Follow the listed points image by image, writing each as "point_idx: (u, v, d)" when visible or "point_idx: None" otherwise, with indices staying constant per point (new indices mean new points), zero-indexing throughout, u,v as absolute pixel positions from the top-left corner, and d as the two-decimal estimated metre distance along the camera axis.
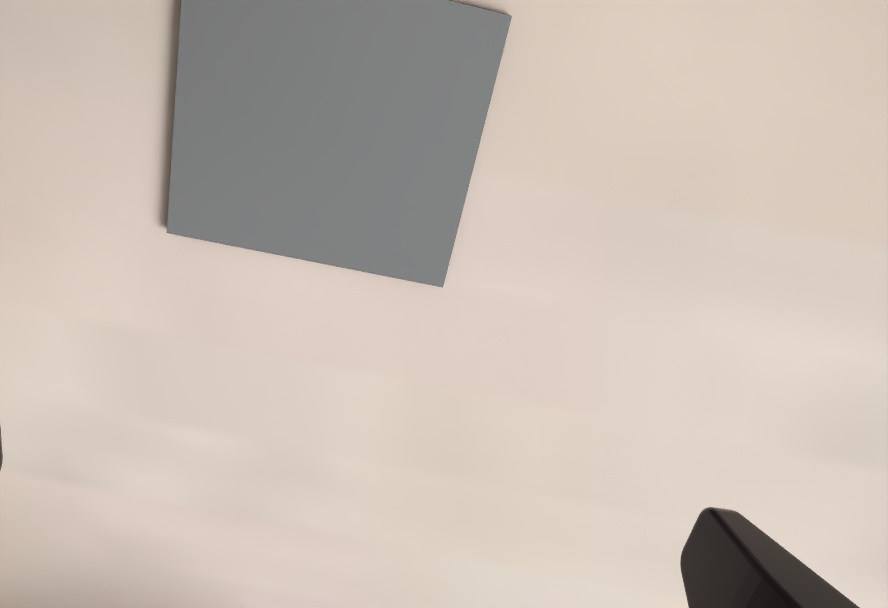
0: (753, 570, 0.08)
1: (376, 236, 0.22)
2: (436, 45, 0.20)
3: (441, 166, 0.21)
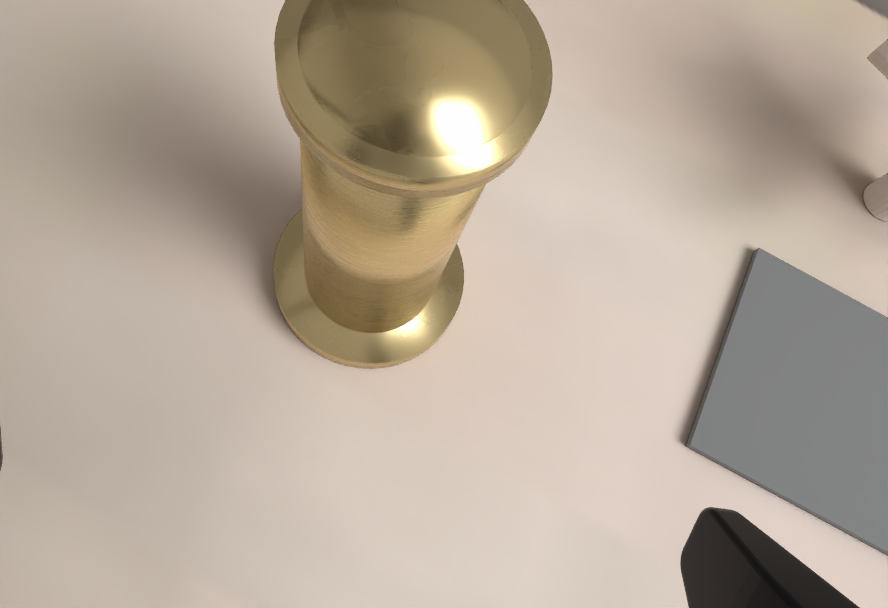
0: (753, 570, 0.08)
1: (863, 499, 0.24)
2: None
3: None
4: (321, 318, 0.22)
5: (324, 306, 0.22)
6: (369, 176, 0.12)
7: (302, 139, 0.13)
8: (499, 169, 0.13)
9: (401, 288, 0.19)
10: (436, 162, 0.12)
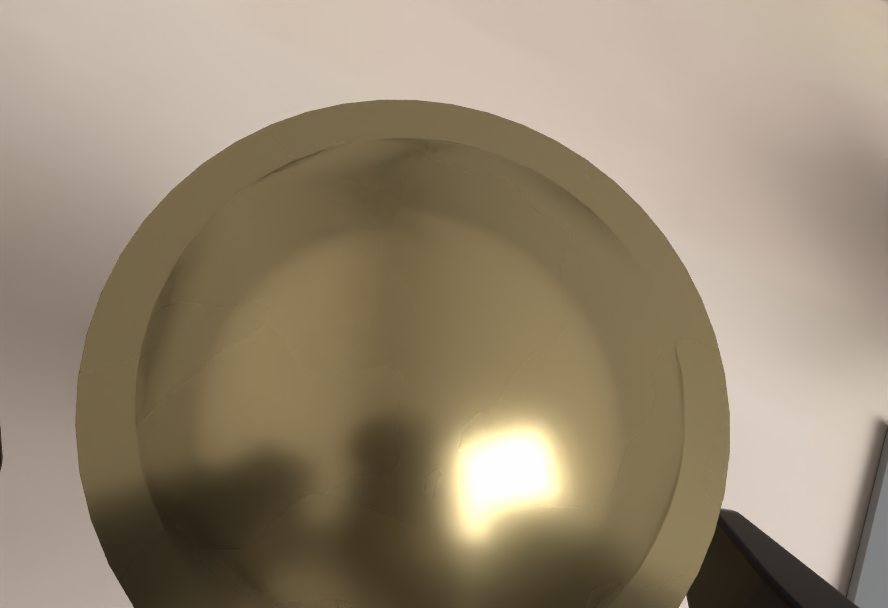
0: (753, 570, 0.08)
1: None
2: None
3: None
4: None
5: None
6: None
7: None
8: None
9: None
10: None
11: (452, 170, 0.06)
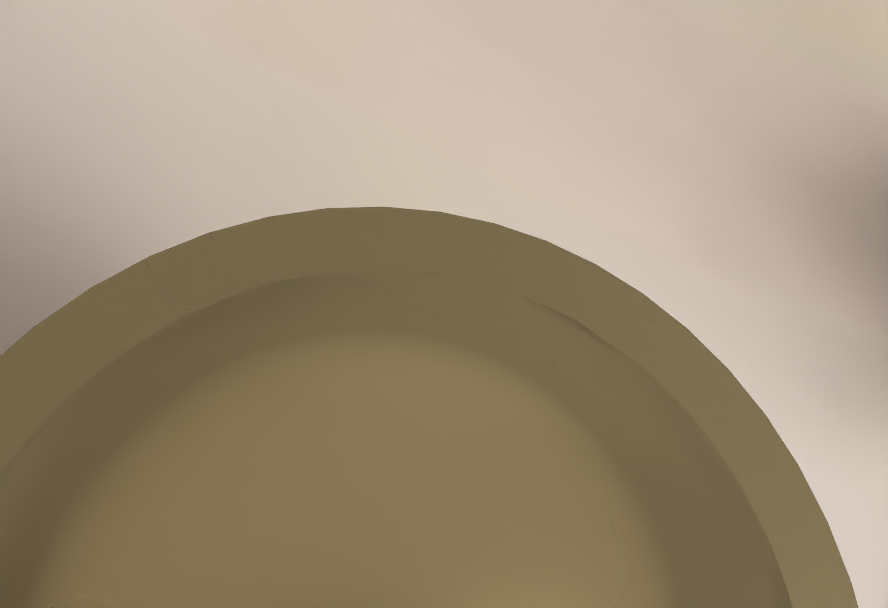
0: None
1: None
2: None
3: None
4: None
5: None
6: None
7: None
8: None
9: None
10: None
11: (439, 321, 0.04)
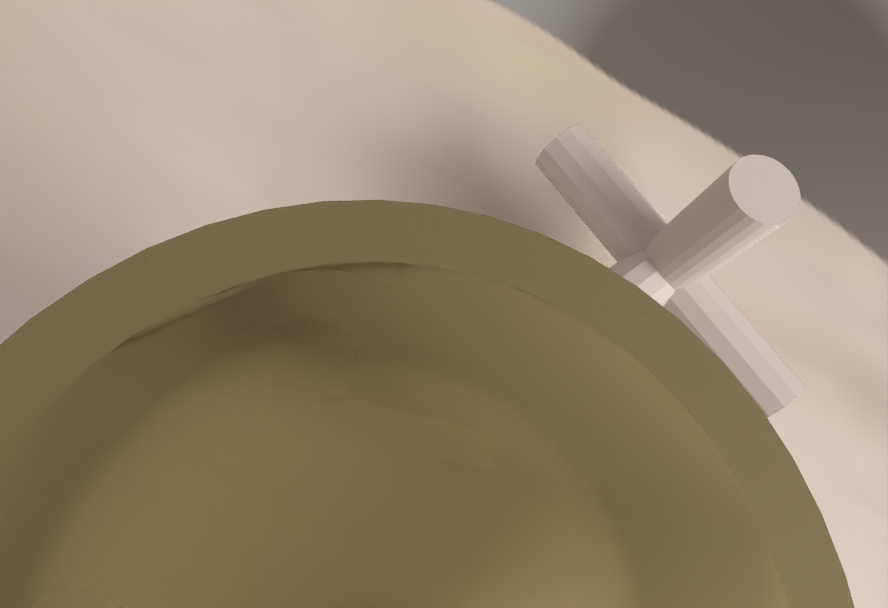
0: None
1: None
2: None
3: None
4: None
5: None
6: None
7: None
8: None
9: None
10: None
11: (434, 313, 0.04)
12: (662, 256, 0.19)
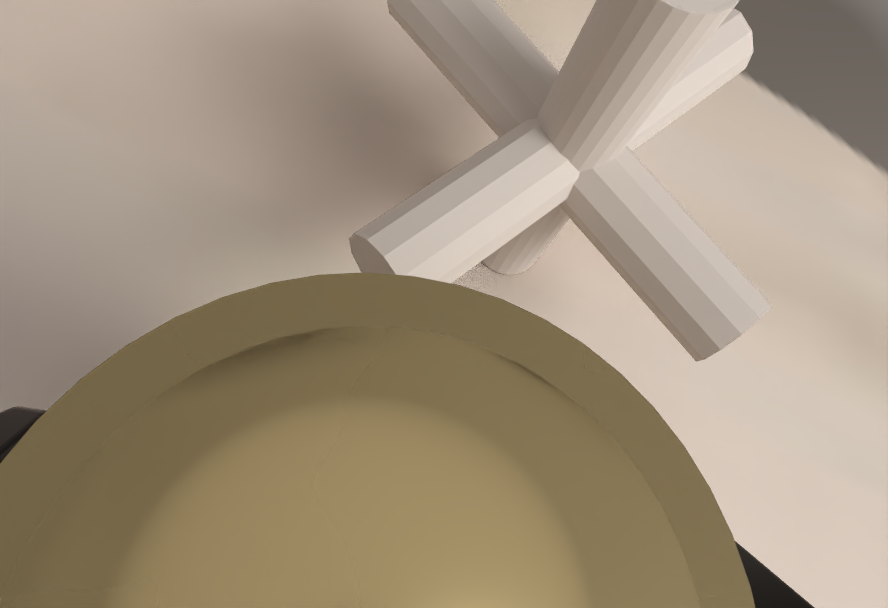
0: None
1: None
2: None
3: None
4: None
5: None
6: None
7: None
8: None
9: None
10: None
11: (411, 369, 0.05)
12: (554, 116, 0.13)
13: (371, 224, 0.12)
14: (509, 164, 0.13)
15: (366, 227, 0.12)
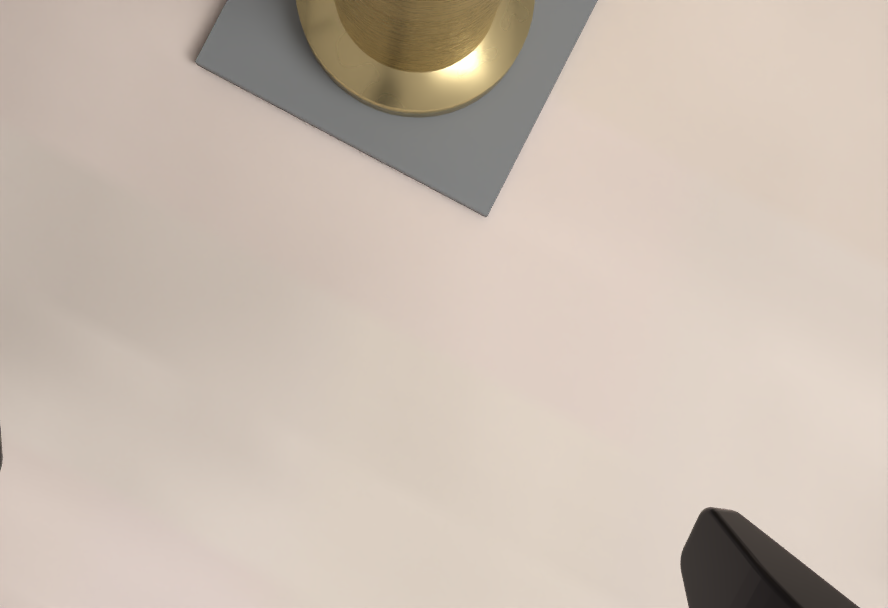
0: (753, 571, 0.08)
1: (430, 133, 0.19)
2: None
3: (520, 74, 0.19)
4: (357, 54, 0.18)
5: (359, 38, 0.18)
6: None
7: None
8: None
9: (451, 6, 0.14)
10: None
11: None
12: None
13: None
14: None
15: None
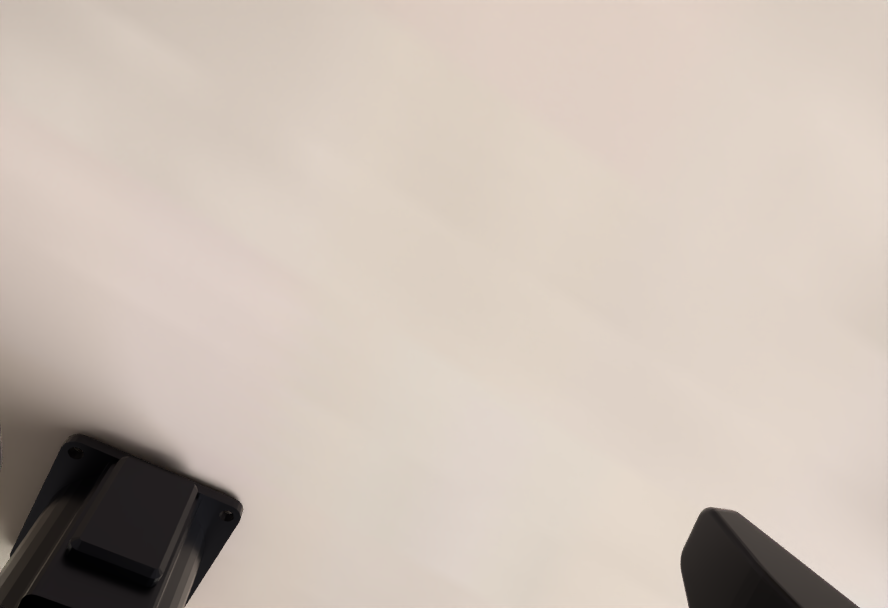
0: (753, 570, 0.08)
1: None
2: None
3: None
4: None
5: None
6: None
7: None
8: None
9: None
10: None
11: None
12: None
13: None
14: None
15: None
